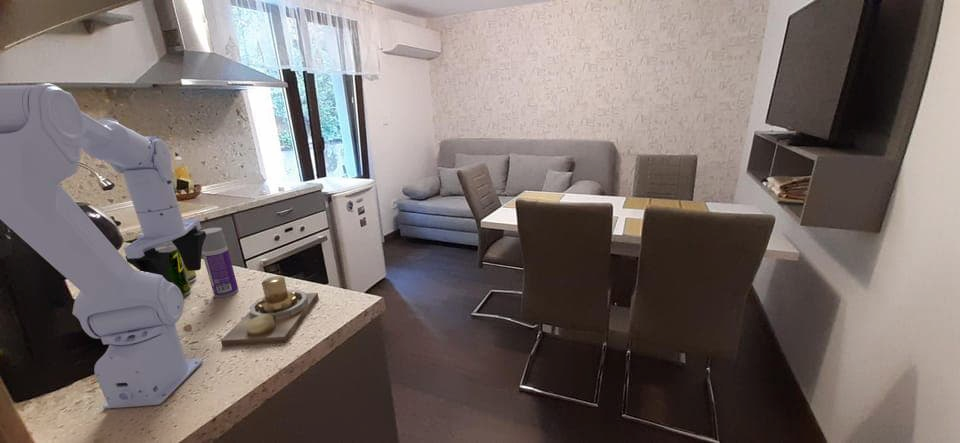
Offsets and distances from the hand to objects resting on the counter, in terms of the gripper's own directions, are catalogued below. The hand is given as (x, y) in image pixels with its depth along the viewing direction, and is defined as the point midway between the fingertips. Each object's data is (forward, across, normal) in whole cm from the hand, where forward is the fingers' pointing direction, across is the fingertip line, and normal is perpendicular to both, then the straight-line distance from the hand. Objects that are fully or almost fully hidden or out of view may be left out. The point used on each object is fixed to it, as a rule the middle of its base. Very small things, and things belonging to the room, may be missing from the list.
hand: (180, 278), depth 68 cm
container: (+11, -14, -3) cm, 18 cm away
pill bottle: (+11, -21, -18) cm, 30 cm away
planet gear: (+9, -4, +14) cm, 17 cm away
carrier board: (+10, -2, +14) cm, 18 cm away
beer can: (+11, -14, -14) cm, 22 cm away
